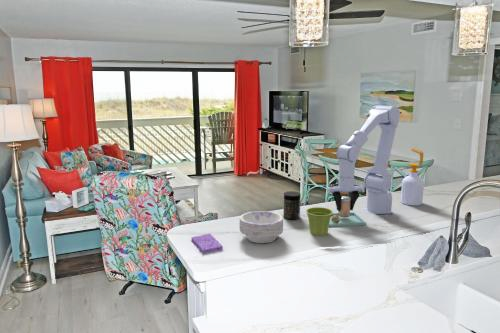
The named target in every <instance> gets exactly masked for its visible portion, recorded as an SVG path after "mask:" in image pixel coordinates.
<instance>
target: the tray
mask: <svg viewBox="0 0 500 333" xmlns="http://www.w3.org/2000/svg"><path fill="white" fill-rule="evenodd" d="M334 215H337V216H338V212H333V214H332V215H331V218H332V216H334ZM331 218H330V222H329V227H330V228H331V227H332V228H333V227H347V226H348V227H351V226H352V227H353V226H366V225H367V222H366V221H365V220H364V219H363V218H362V217H361V216H360V215H358V214H357V213H356V212H355V211H354V212H353V211H350V217H340V216H339V218H340V221H339V223H333V222H332V220H331Z"/></svg>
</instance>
